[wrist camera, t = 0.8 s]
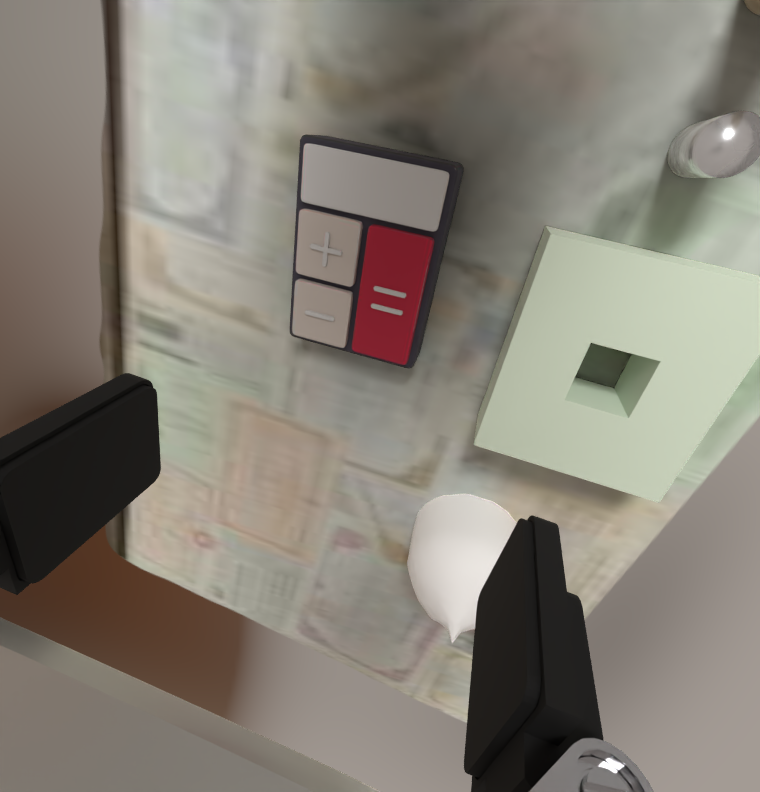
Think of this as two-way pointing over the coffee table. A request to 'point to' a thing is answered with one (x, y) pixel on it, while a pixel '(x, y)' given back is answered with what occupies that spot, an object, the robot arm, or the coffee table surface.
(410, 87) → the coffee table surface
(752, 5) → the long pin
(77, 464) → the robot arm
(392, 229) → the calculator
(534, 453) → the peg block
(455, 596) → the teardrop
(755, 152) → the short pin
